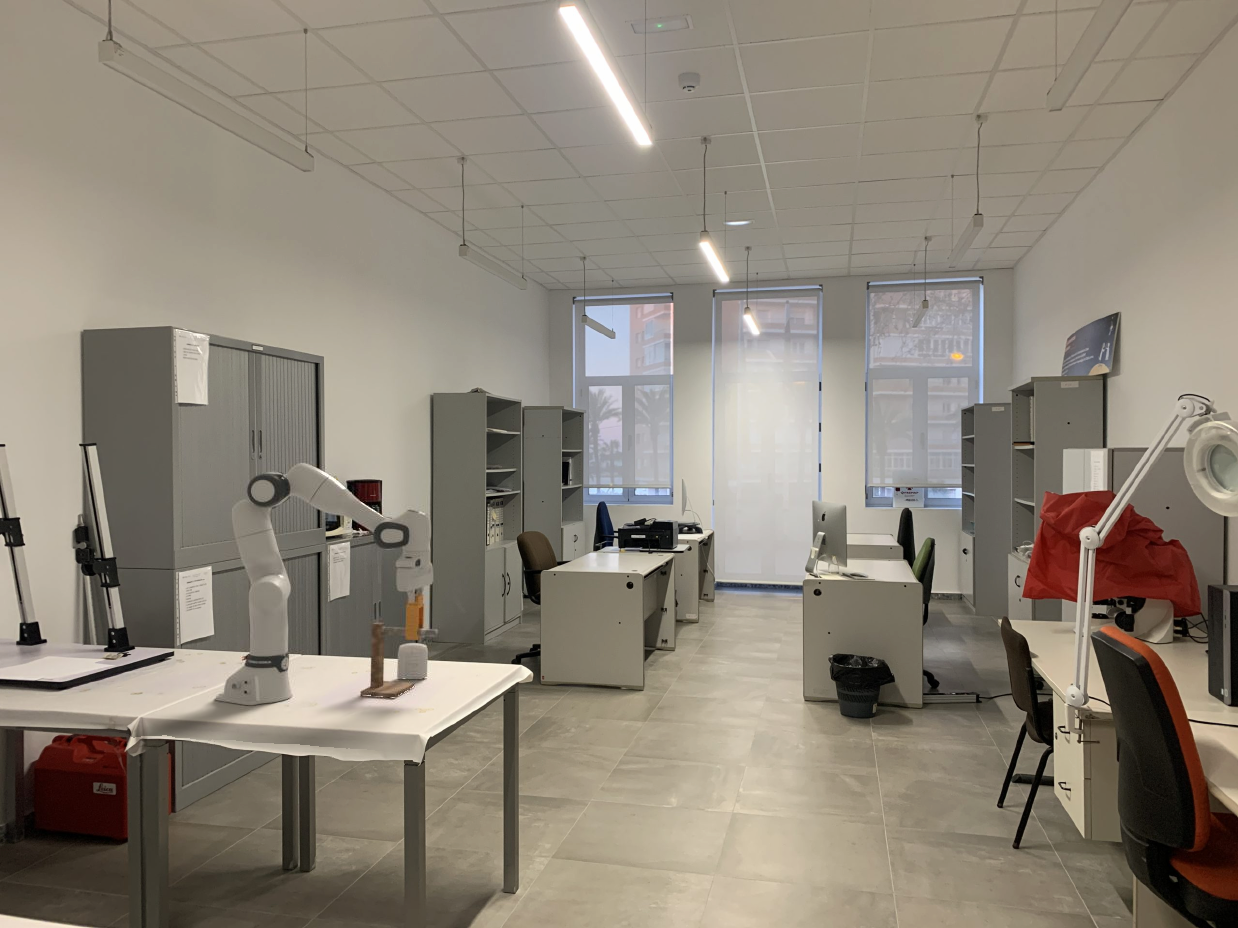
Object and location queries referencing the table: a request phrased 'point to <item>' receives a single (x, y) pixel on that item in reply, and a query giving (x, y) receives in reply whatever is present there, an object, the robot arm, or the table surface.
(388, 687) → the stand
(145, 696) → the table surface
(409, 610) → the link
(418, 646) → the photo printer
